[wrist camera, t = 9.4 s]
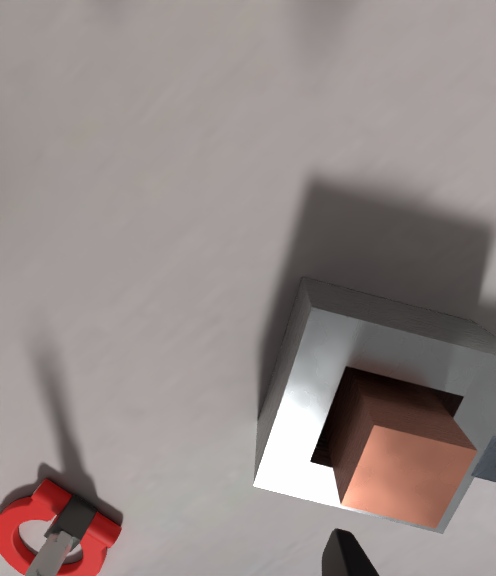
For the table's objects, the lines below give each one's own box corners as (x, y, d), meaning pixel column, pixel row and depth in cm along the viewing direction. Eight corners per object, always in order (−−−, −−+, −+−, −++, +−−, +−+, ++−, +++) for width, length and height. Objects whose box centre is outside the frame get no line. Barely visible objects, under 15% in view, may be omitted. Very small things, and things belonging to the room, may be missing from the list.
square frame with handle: (257, 422, 23) (253, 485, 18) (302, 276, 20) (312, 307, 15) (553, 498, 23) (625, 580, 18) (640, 365, 20) (753, 422, 16)
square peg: (317, 393, 22) (340, 505, 15) (337, 335, 21) (374, 425, 13) (379, 408, 22) (435, 528, 15) (402, 352, 21) (477, 450, 13)
